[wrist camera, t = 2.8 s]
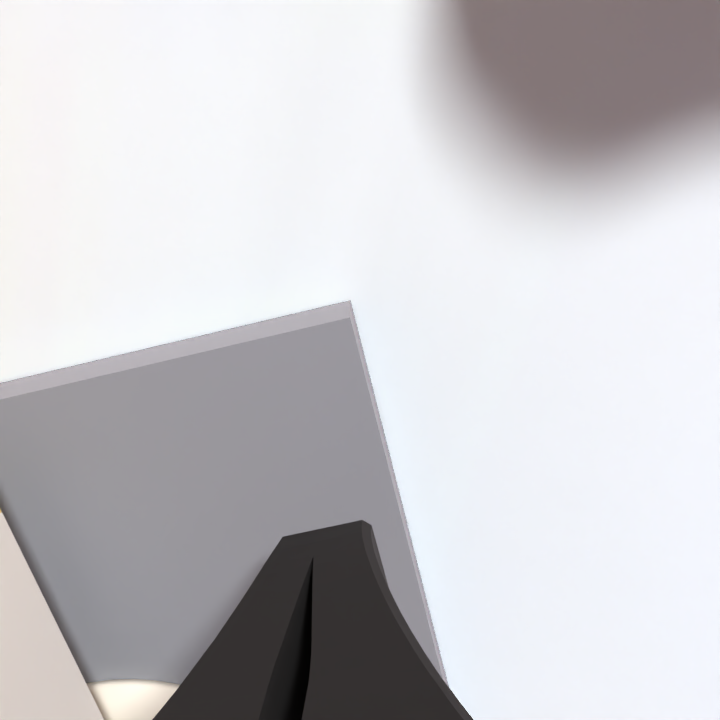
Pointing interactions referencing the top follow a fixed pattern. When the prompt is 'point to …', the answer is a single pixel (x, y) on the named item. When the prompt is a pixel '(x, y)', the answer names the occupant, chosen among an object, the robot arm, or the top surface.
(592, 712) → the top surface
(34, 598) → the peg dial
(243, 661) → the robot arm
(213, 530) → the board
